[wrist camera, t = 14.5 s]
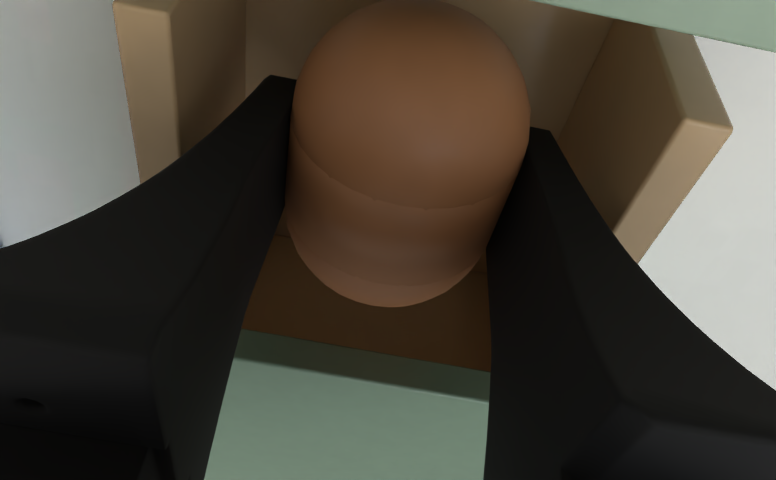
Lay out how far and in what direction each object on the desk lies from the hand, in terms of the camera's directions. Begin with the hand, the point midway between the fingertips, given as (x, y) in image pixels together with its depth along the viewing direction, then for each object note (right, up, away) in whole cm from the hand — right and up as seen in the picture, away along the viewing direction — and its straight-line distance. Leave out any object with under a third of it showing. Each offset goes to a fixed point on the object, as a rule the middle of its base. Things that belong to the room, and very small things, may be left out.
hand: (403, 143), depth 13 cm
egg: (0, 0, 0) cm, 1 cm away
